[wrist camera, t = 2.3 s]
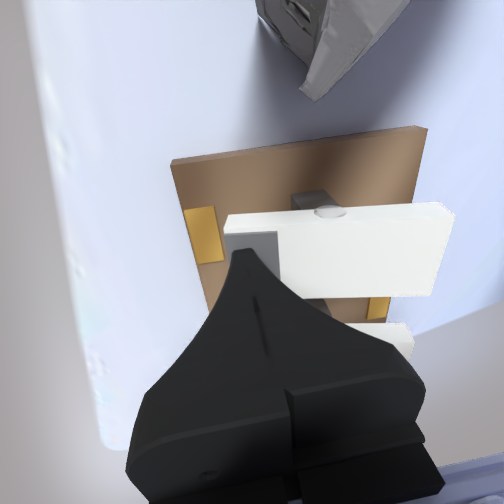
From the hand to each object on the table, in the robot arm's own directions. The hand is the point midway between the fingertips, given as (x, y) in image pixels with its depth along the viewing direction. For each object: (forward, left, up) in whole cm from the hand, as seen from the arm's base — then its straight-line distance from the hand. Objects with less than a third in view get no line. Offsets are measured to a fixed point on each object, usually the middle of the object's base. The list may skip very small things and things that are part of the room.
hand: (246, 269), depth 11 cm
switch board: (-4, +3, -4) cm, 6 cm away
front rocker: (-4, 0, 0) cm, 4 cm away
